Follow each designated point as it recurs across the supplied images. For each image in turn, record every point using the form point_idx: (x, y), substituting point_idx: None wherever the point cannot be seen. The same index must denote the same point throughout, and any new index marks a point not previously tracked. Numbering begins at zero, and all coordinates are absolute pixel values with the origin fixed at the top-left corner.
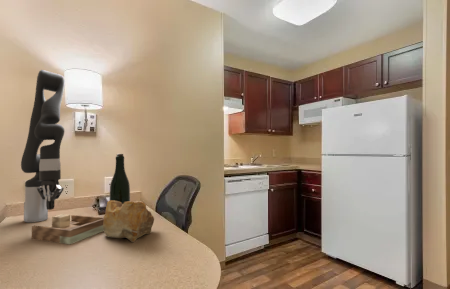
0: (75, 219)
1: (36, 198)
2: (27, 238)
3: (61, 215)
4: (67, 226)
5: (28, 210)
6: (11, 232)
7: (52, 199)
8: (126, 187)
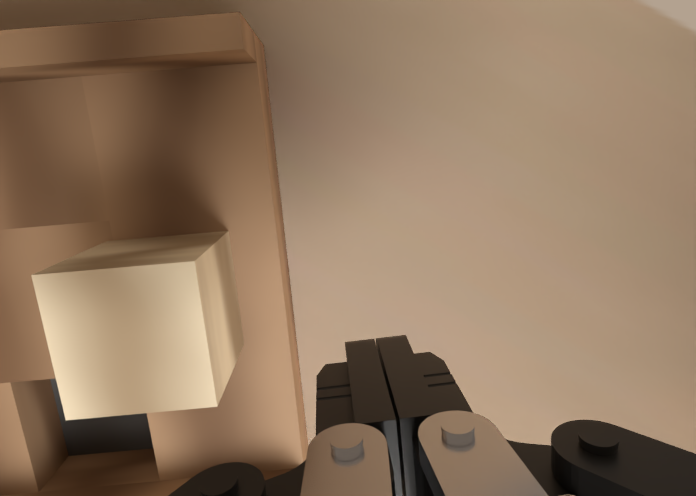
0: None
1: None
2: (325, 43)
3: (145, 356)
4: None
5: None
6: (693, 99)
7: (213, 468)
8: None
